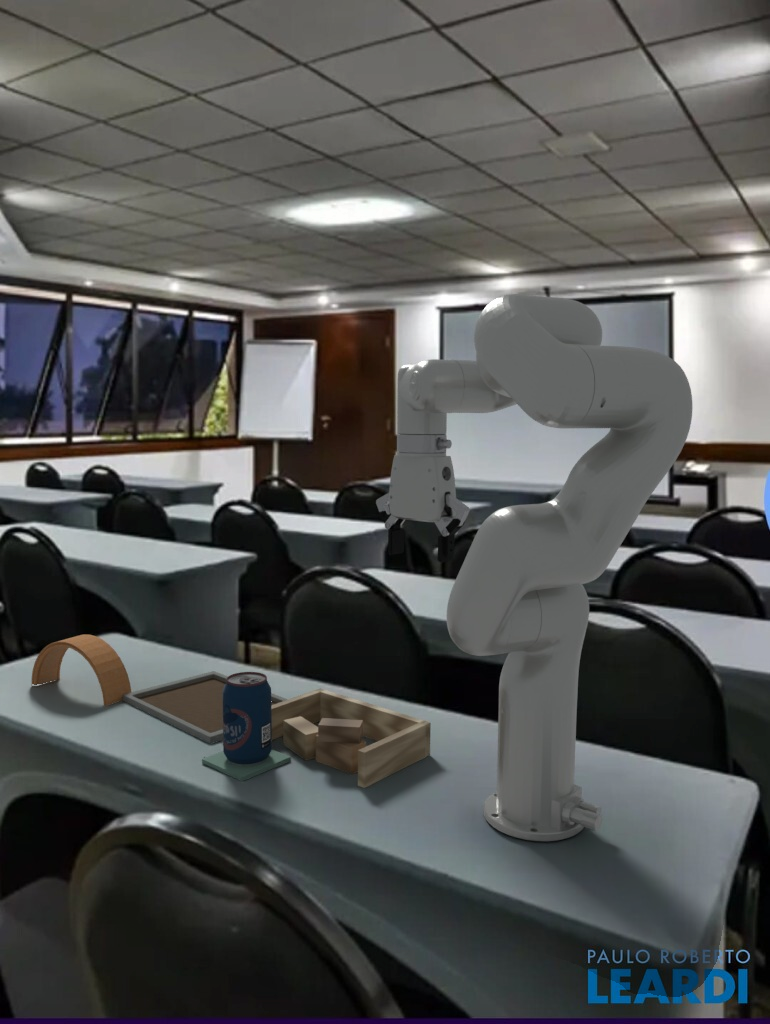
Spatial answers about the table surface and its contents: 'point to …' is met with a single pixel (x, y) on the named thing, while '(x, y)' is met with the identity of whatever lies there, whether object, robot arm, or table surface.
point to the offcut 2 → (339, 754)
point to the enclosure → (393, 731)
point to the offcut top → (340, 730)
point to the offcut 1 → (300, 737)
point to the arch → (98, 657)
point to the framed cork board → (189, 704)
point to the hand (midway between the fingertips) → (420, 557)
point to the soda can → (247, 718)
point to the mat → (245, 772)
